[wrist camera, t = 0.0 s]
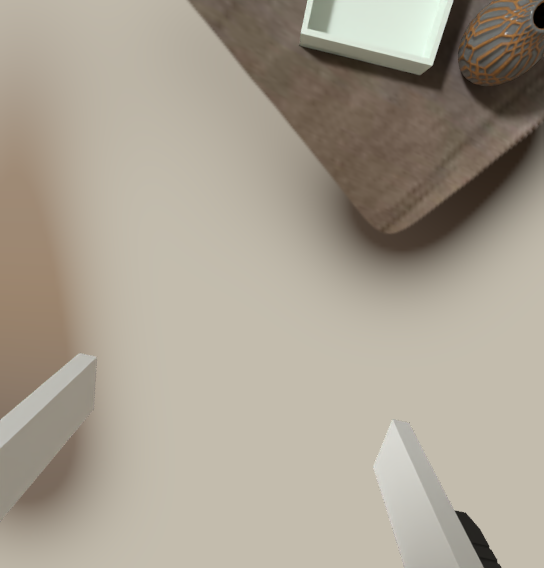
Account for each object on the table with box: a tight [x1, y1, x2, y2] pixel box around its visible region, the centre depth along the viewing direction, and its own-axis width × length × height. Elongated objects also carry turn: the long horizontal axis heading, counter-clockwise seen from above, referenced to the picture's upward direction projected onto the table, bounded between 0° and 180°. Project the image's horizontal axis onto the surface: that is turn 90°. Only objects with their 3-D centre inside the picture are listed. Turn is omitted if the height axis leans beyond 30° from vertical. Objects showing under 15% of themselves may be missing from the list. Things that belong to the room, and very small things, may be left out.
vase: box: [458, 0, 544, 86], centre depth 30 cm, size 7×7×9 cm
